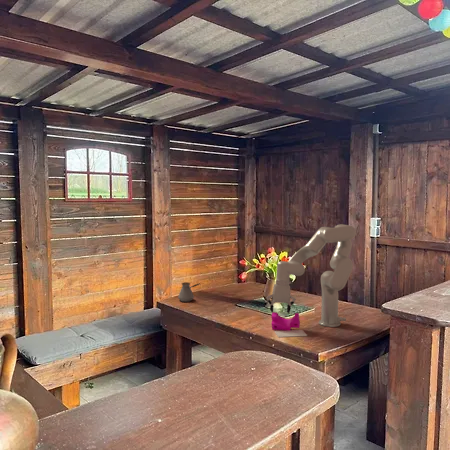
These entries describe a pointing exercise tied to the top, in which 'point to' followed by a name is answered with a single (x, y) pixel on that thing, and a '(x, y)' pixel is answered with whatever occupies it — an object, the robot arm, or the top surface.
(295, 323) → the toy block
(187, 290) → the coffee pot
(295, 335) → the mat
